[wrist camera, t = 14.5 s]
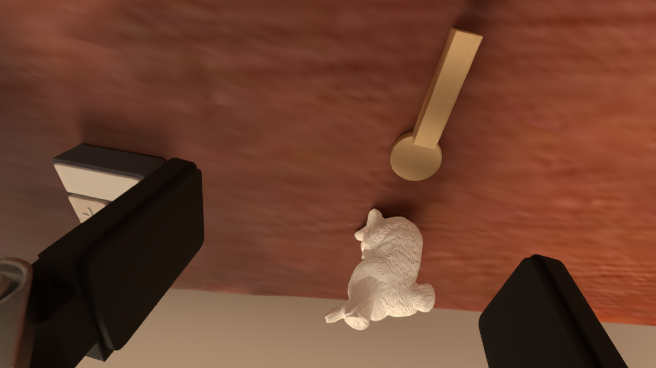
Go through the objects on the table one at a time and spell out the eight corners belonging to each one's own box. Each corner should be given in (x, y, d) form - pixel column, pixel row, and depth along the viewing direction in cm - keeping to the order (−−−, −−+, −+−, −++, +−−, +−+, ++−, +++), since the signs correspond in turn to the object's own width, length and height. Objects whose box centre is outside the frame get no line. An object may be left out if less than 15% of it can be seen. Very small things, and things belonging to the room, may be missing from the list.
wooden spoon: (433, 23, 23) (437, 25, 20) (493, 37, 22) (503, 40, 20) (384, 167, 29) (383, 181, 27) (430, 180, 29) (432, 194, 27)
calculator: (94, 259, 40) (43, 160, 32) (119, 237, 44) (78, 142, 36) (170, 277, 39) (137, 179, 31) (190, 253, 43) (165, 158, 34)
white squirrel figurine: (348, 248, 35) (326, 347, 25) (343, 199, 32) (315, 290, 22) (425, 253, 33) (435, 361, 23) (428, 200, 30) (441, 301, 20)
